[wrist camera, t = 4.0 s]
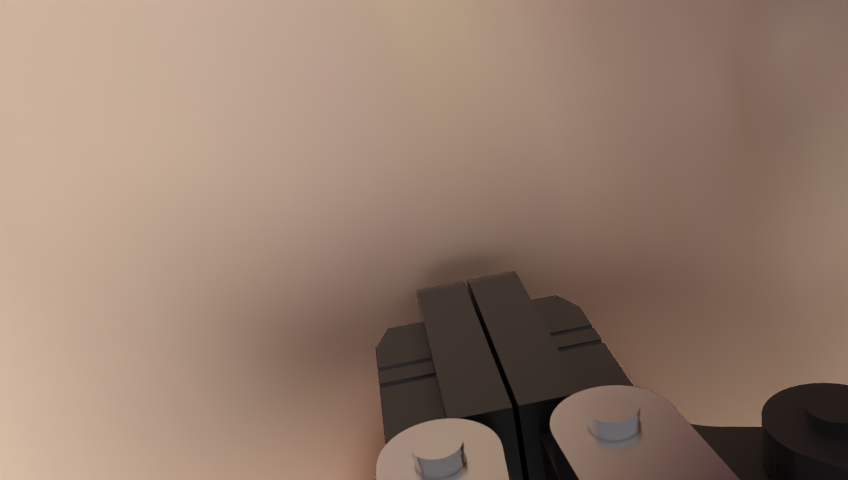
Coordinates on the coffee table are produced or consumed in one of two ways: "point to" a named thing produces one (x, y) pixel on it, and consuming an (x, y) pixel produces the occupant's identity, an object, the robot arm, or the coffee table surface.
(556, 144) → the coffee table surface
